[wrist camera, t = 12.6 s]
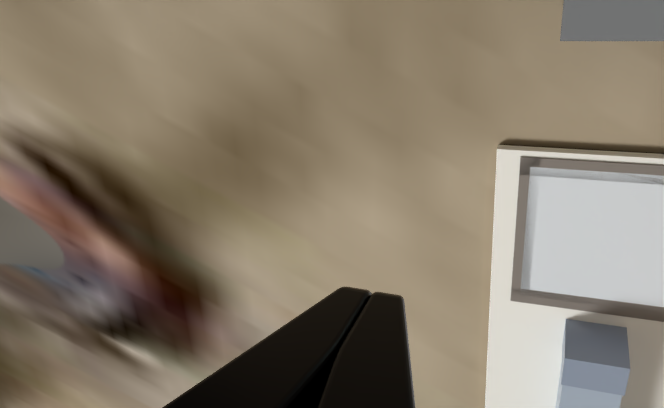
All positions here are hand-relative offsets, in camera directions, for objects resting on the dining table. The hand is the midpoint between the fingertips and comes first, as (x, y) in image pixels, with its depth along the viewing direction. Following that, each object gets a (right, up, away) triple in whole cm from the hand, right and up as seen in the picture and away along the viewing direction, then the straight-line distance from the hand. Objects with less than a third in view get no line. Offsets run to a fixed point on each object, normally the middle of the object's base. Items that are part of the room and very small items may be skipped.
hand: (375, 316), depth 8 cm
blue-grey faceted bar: (+9, -5, +14) cm, 17 cm away
